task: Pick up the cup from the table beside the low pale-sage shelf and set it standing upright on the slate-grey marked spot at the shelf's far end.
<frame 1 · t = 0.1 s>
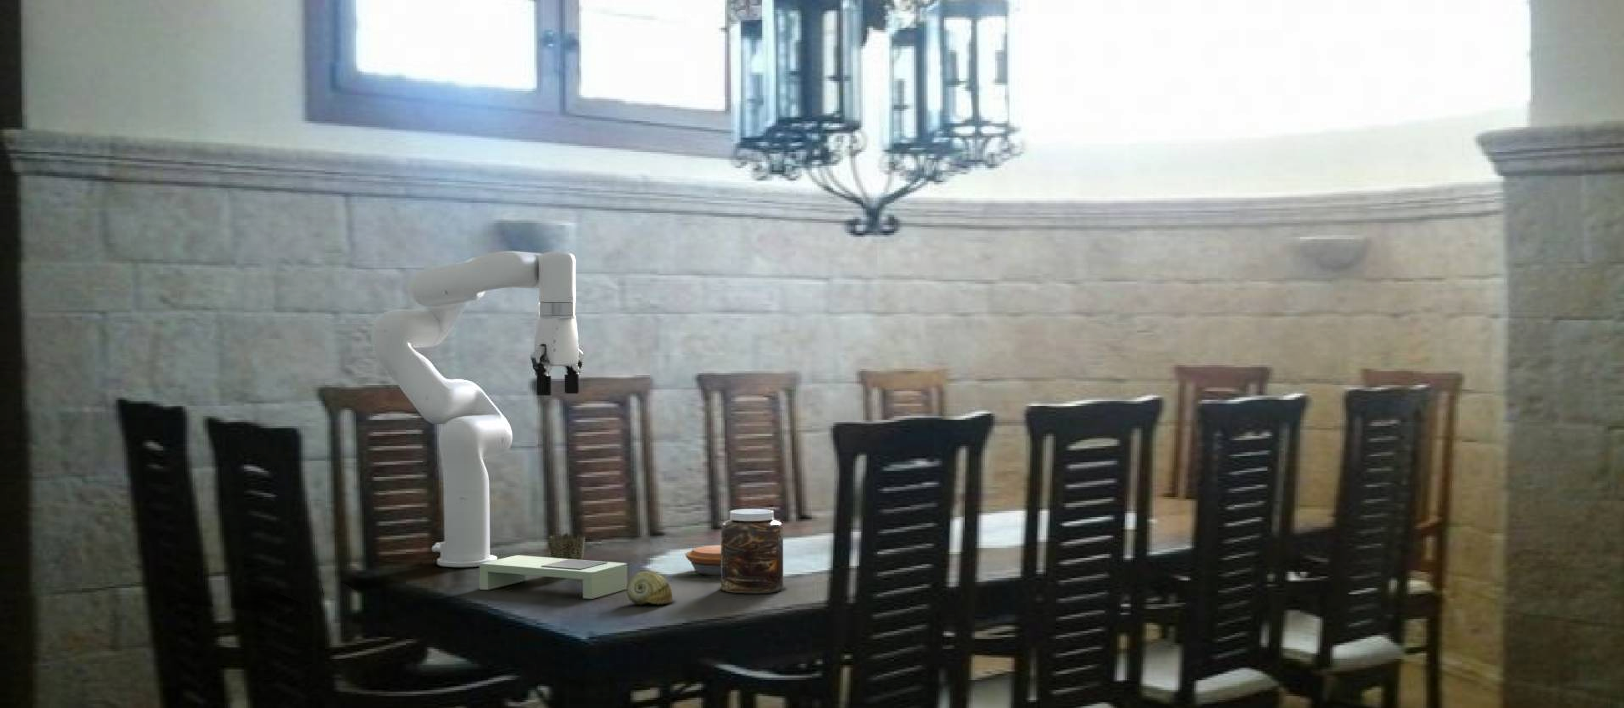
hand: (558, 394, 315), 37 cm above the table, tool pointing down, fingers open, 9 cm apart
seashell: (649, 604, 278), on the table
shelf: (553, 589, 293), on the table
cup: (567, 575, 311), on the table
pie: (723, 572, 314), on the table
jar: (752, 590, 292), on the table
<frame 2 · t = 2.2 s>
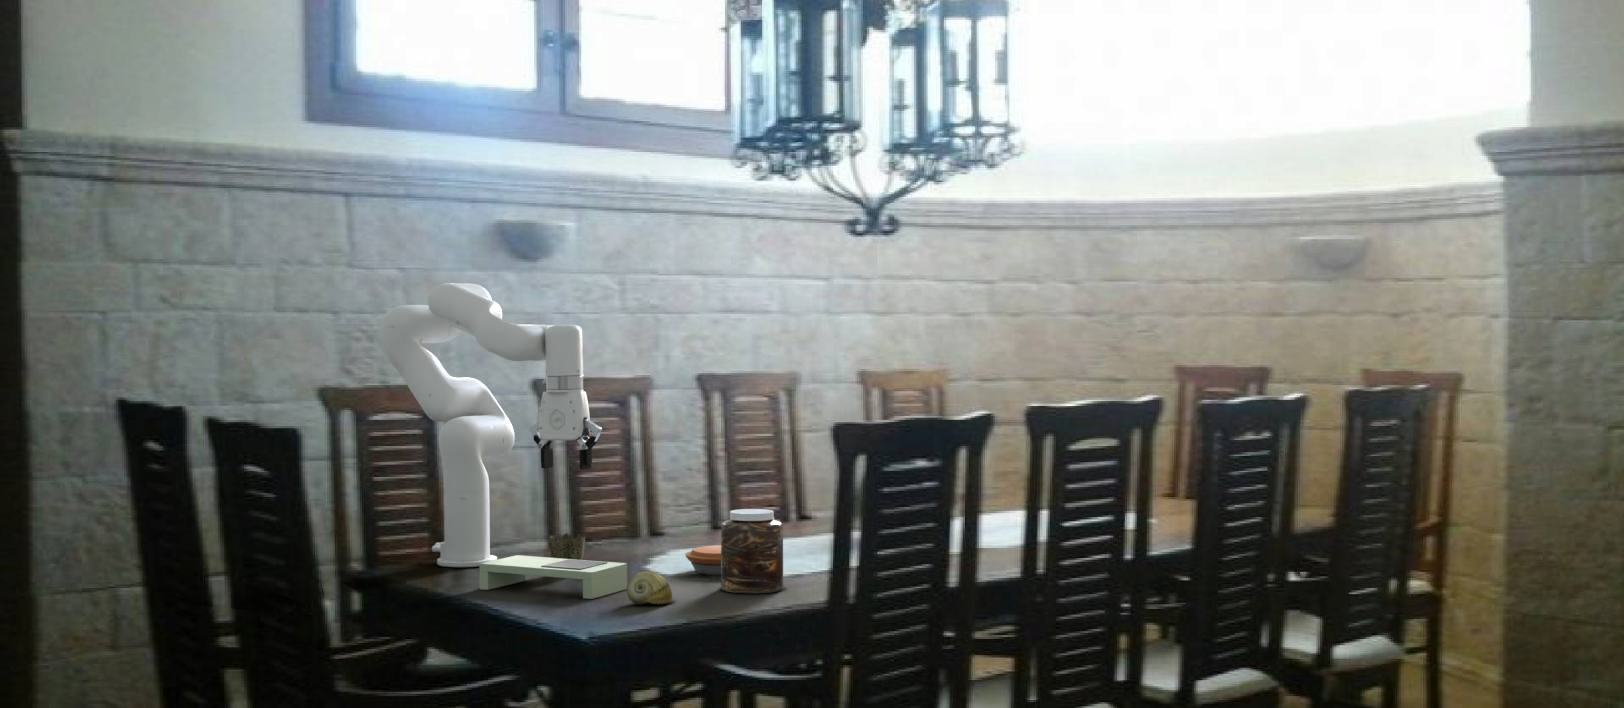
hand: (566, 468, 311), 22 cm above the table, tool pointing down, fingers open, 9 cm apart
nothing on the table moved.
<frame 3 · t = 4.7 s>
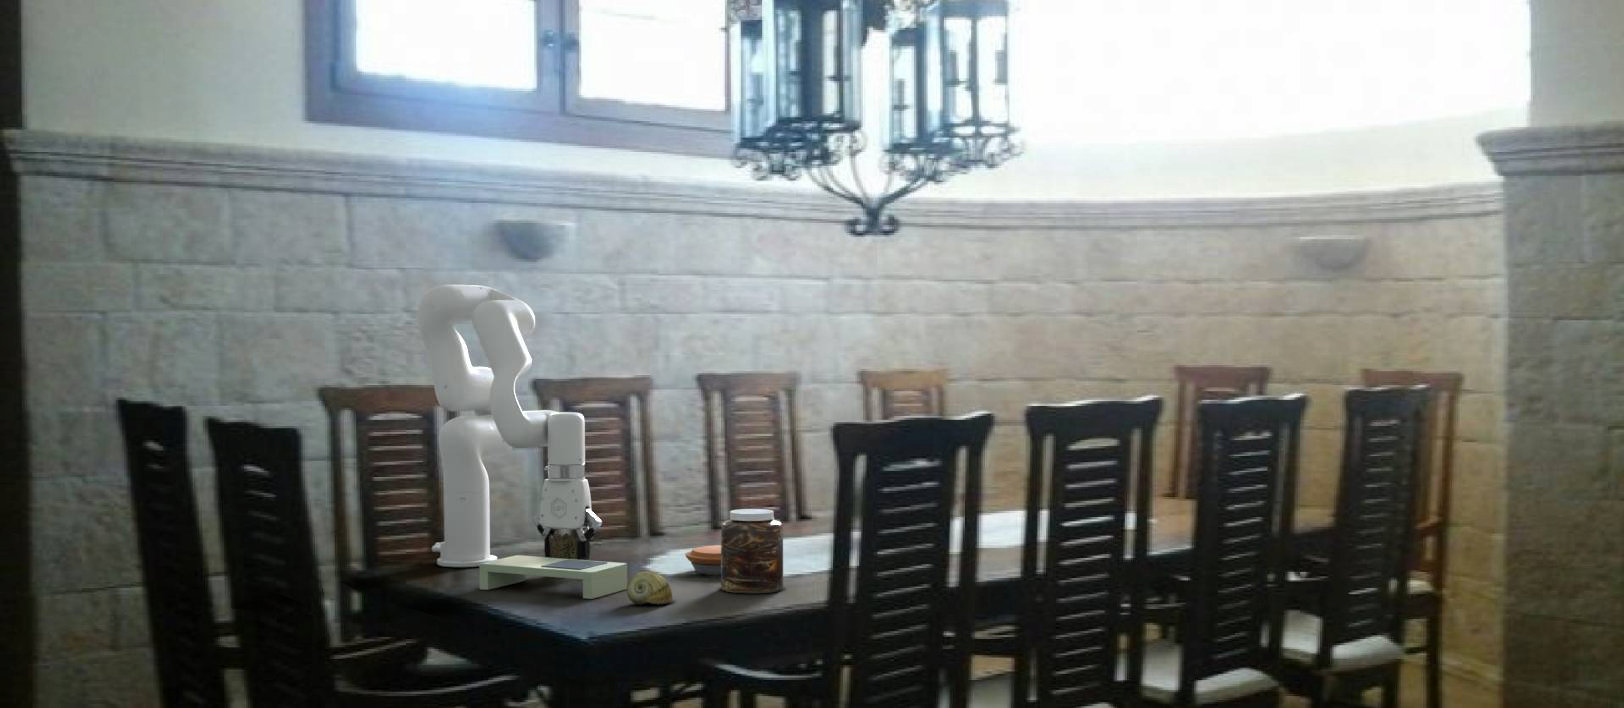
hand: (567, 558, 311), 3 cm above the table, tool pointing down, fingers closed on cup, 7 cm apart
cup: (567, 575, 311), on the table, touching gripper
everything else where it was.
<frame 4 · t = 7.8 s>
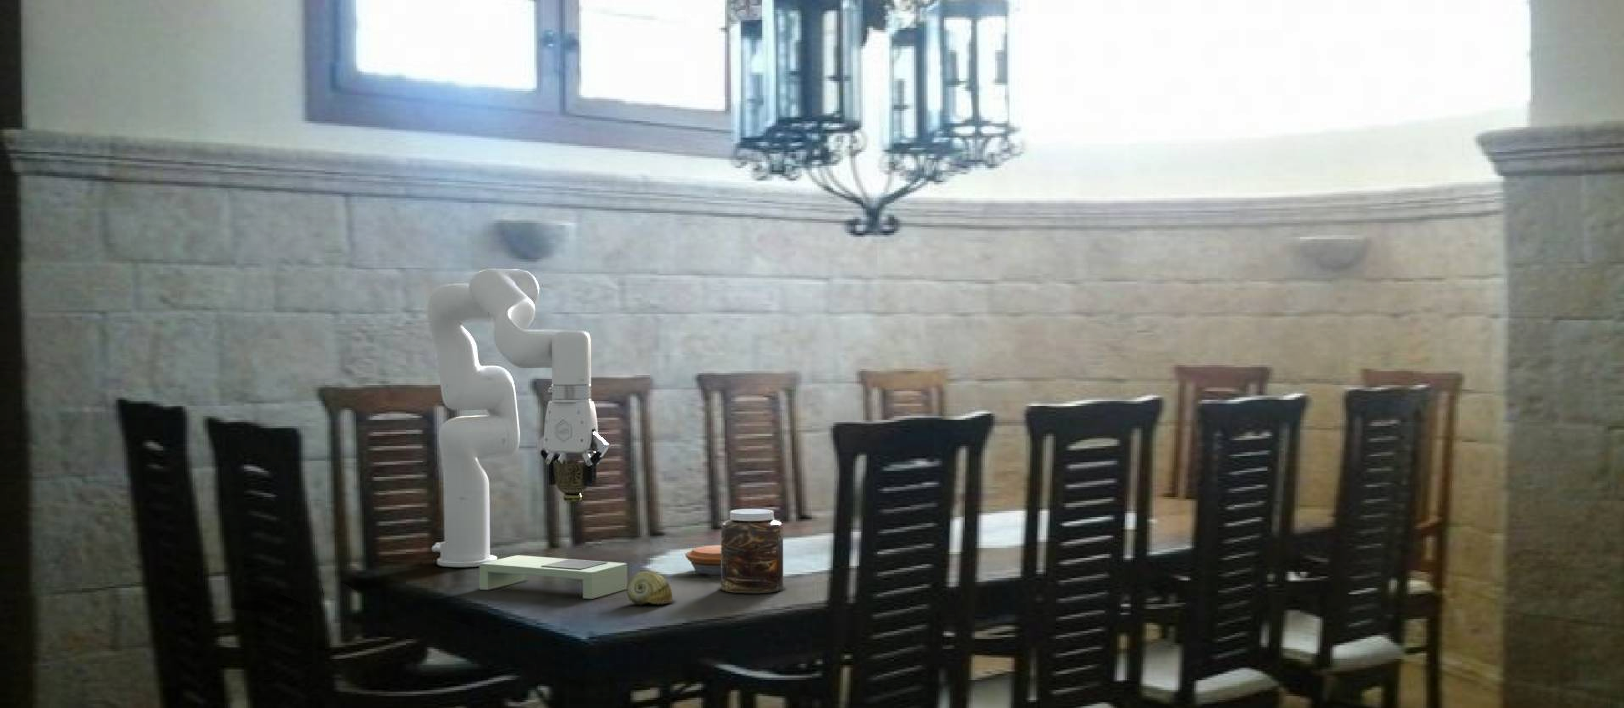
hand: (572, 484, 295), 20 cm above the table, tool pointing down, fingers closed on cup, 7 cm apart
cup: (572, 502, 295), point 17 cm above the table, touching gripper
everything else where it was.
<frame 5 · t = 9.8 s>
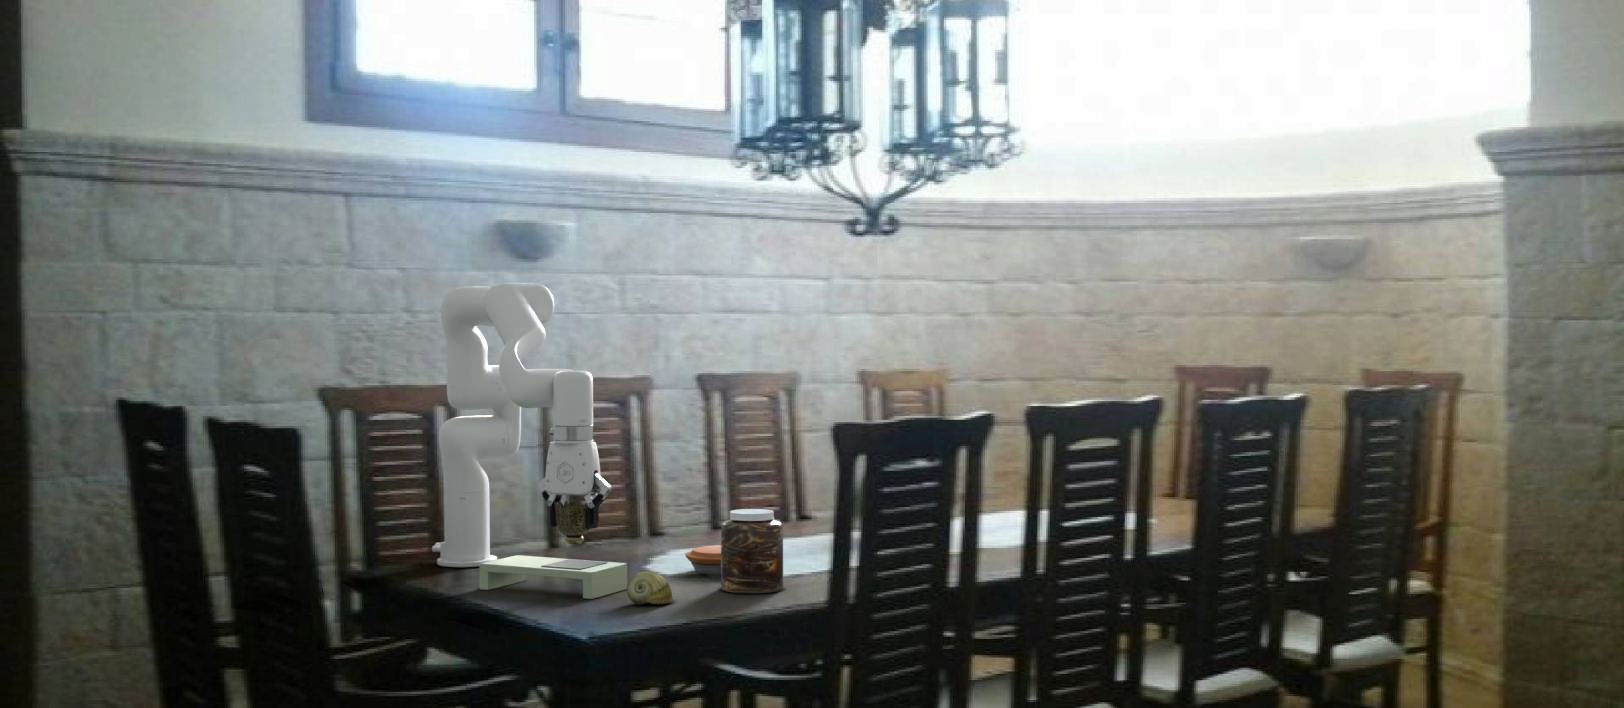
hand: (574, 526, 291), 12 cm above the table, tool pointing down, fingers closed on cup, 7 cm apart
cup: (574, 544, 291), point 9 cm above the table, touching gripper
everything else where it was.
when the fingers open (9 cm above the table, at t = 11.4 s): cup stays where it is, resting on shelf.
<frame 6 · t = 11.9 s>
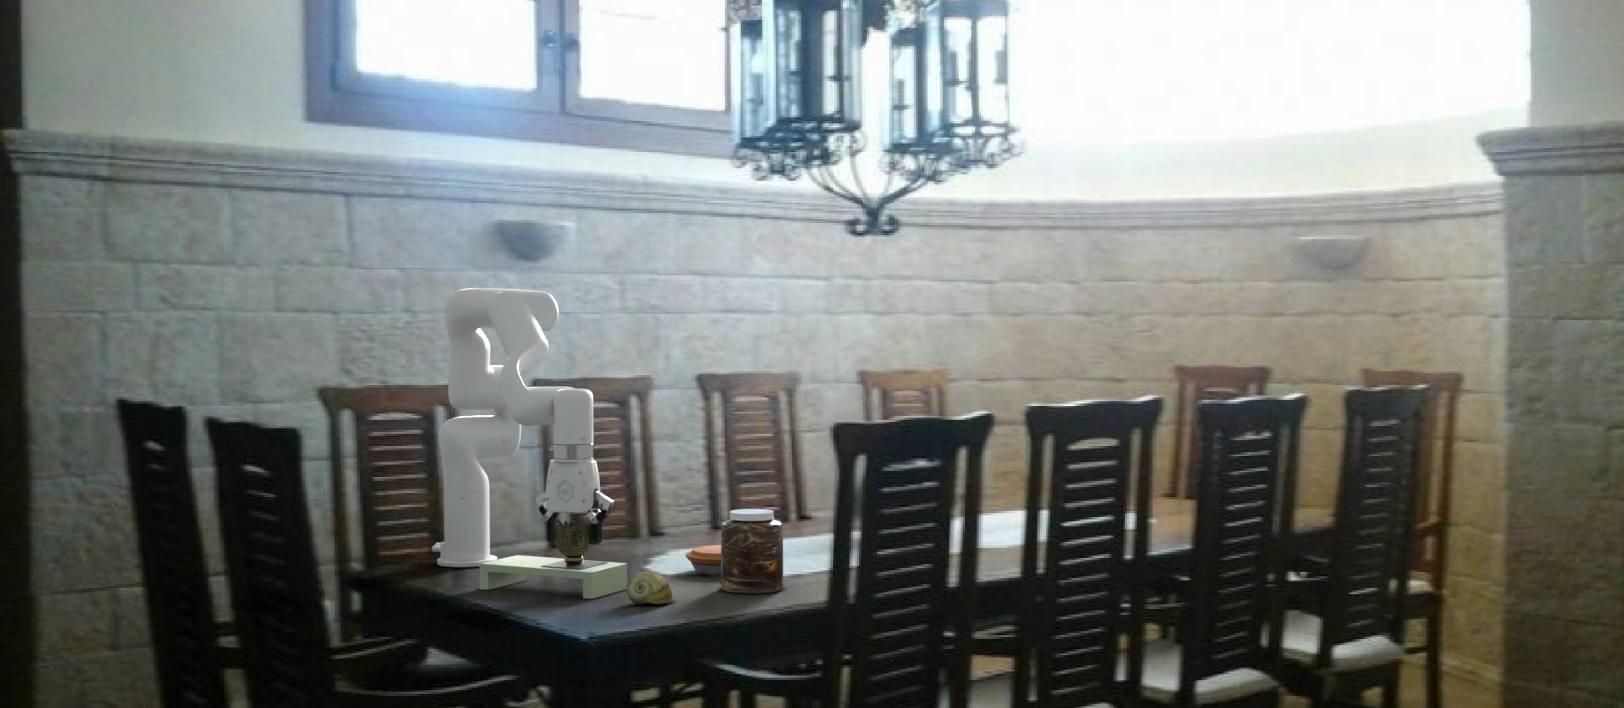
hand: (574, 542, 291), 9 cm above the table, tool pointing down, fingers open, 9 cm apart
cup: (574, 564, 291), point 5 cm above the table, touching shelf
everything else where it was.
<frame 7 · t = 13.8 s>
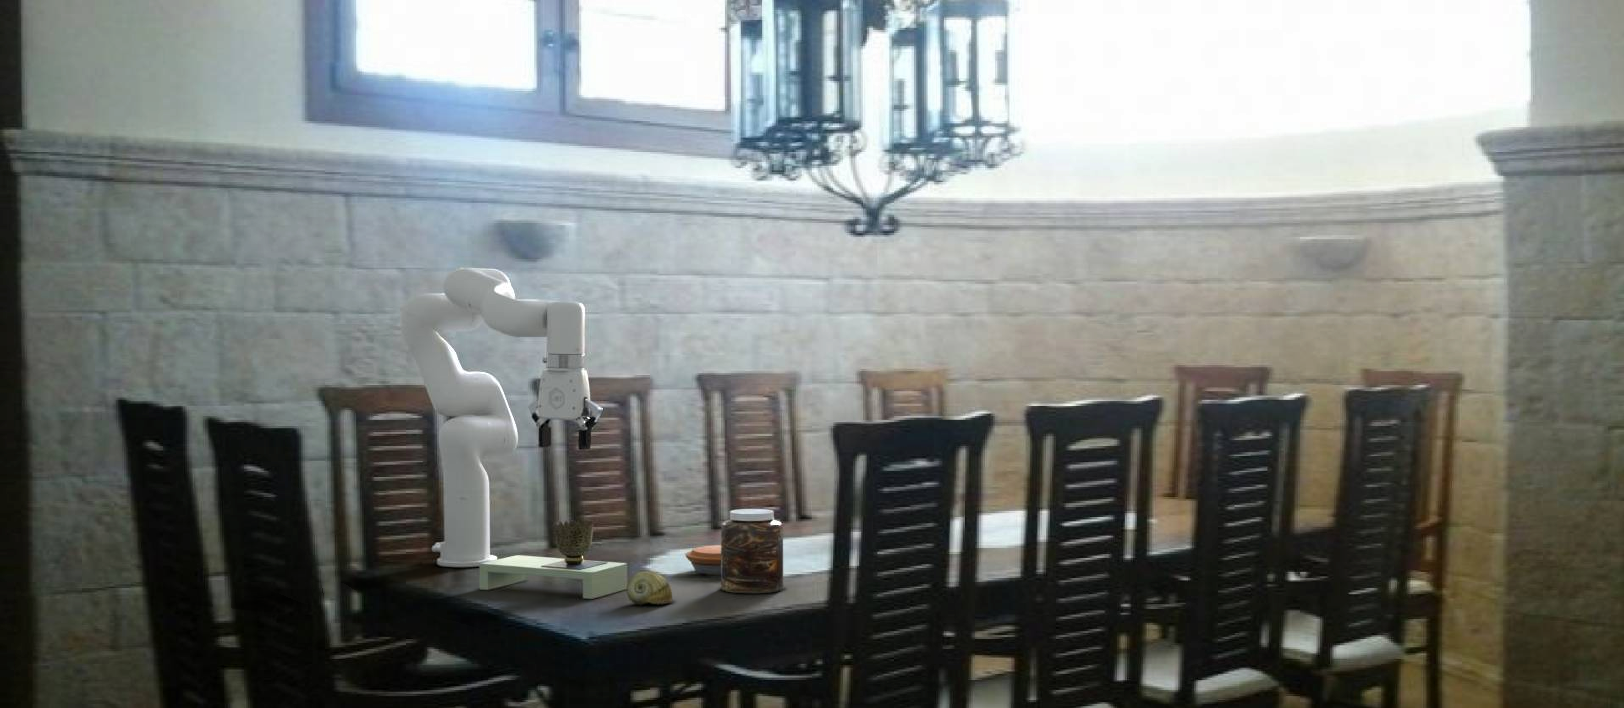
hand: (564, 448, 305), 26 cm above the table, tool pointing down, fingers open, 9 cm apart
nothing on the table moved.
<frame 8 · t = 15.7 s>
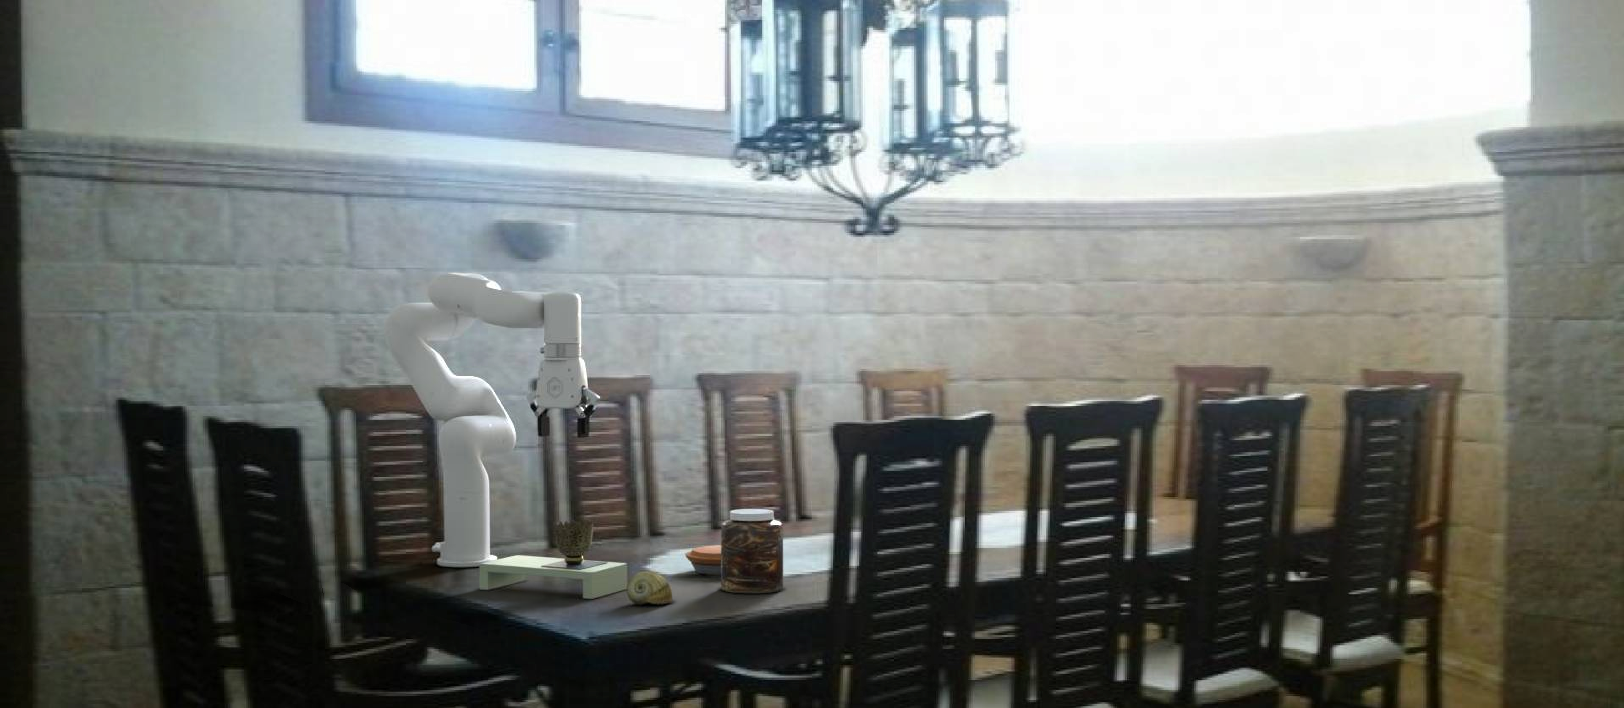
hand: (563, 436, 310), 28 cm above the table, tool pointing down, fingers open, 9 cm apart
nothing on the table moved.
at the end: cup 0.1 cm from the target spot on the shelf, point 5.0 cm above the shelf's base; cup tilted 0°; the gripper is holding nothing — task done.
